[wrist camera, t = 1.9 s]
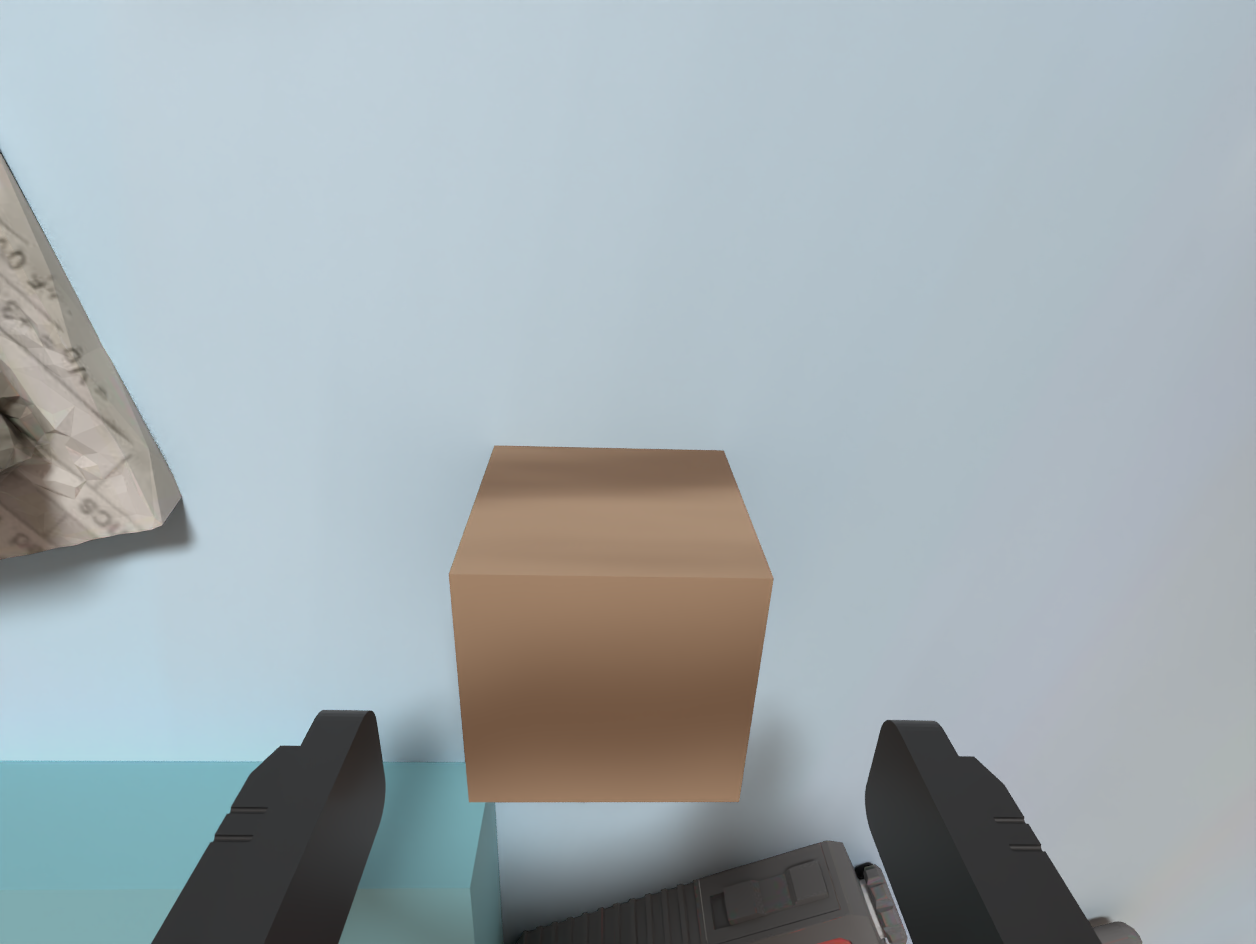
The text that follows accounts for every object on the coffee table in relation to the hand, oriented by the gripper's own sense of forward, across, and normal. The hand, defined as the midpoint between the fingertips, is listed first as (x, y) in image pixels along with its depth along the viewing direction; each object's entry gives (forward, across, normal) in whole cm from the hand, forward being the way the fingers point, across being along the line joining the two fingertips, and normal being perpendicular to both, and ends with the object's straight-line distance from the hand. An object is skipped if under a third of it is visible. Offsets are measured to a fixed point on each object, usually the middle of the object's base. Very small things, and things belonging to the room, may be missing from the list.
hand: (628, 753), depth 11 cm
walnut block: (+6, 0, 0) cm, 6 cm away
